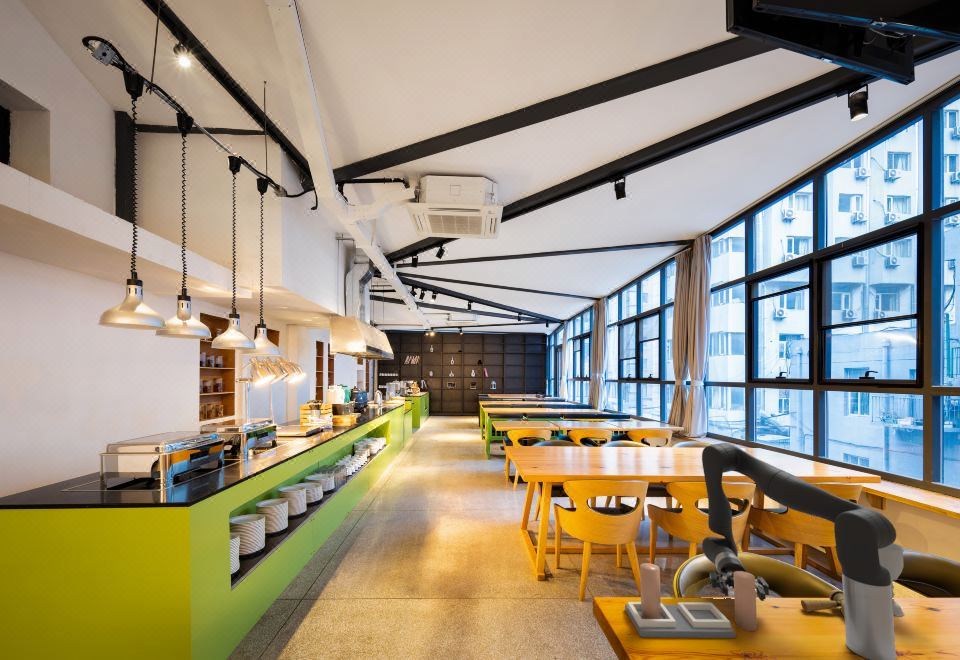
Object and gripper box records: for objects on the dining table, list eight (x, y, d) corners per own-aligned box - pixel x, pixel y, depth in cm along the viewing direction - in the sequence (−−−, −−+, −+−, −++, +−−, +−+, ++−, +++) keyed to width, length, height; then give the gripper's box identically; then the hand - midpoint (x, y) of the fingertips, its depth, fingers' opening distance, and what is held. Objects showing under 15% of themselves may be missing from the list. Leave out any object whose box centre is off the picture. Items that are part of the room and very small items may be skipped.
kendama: (816, 625, 123) (886, 620, 122) (808, 599, 125) (878, 593, 123) (800, 615, 131) (866, 610, 129) (793, 591, 133) (859, 585, 131)
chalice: (883, 615, 126) (878, 548, 127) (870, 603, 132) (866, 539, 134) (915, 619, 124) (910, 551, 125) (900, 607, 130) (896, 542, 132)
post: (742, 618, 124) (740, 569, 125) (761, 628, 119) (759, 577, 121) (731, 623, 122) (729, 573, 123) (749, 633, 117) (747, 581, 118)
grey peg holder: (709, 610, 128) (707, 557, 129) (735, 637, 115) (733, 578, 116) (625, 609, 128) (623, 556, 129) (641, 637, 115) (639, 578, 116)
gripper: (704, 553, 140) (714, 576, 124) (756, 559, 136) (773, 584, 120) (705, 578, 139) (715, 605, 124) (757, 585, 135) (775, 613, 120)
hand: (744, 594), depth 122 cm, fingers open, 8 cm apart
